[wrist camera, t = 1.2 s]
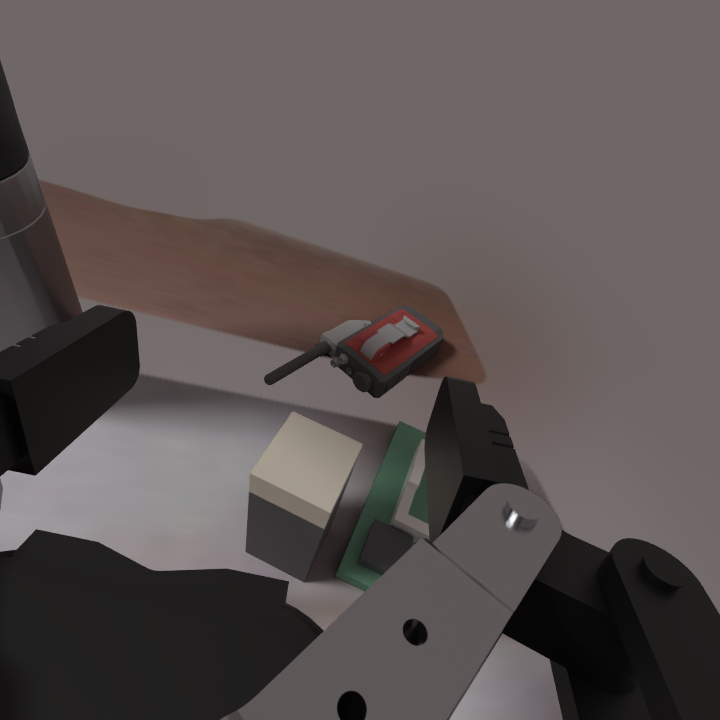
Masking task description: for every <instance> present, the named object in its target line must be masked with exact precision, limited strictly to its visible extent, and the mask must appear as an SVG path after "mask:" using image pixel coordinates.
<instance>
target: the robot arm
mask: <svg viewBox="0 0 720 720" xmlns="http://www.w3.org/2000/svg"><path fill="white" fill-rule="evenodd" d="M139 368H140V363H139V351H138V339H137V327H136V320H135V317H134V315H133V313H132V312H130V311H126V310H121V309H116V308H112V307H107V306H102V305H97V306H95V307H93V308H91V309H89V310H87V311H85V312H82V309H81V306H80V303H79V300H78V297H77V294H76V291H75V288H74V285H73V282H72V279H71V276H70V273H69V270H68V267H67V264H66V261H65V258H64V255H63V252H62V249H61V246H60V243H59V240H58V237H57V234H56V231H55V228H54V225H53V222H52V219H51V216H50V213H49V209H48V206H47V203H46V200H45V198H44V195H43V192H42V189H41V186H40V183H39V180H38V177H37V174H36V171H35V168H34V165H33V162H32V159H31V156H30V154H29V150H28V147H27V144H26V141H25V138H24V136H23V133H22V130H21V126H20V123H19V121H18V117H17V114H16V110H15V107H14V104H13V100H12V97H11V93H10V90H9V86H8V83H7V80H6V77H5V74H4V71H3V68H2V64H1V62H0V476H1V475H3V474H4V473H5V472H6V471H7V470H11V471H15V472H20V473H25V474H30V475H37V474H38V473H39V472H40V471H41V470H42V469H43V468H44V467H45V466H46V465H48V464H49V463H50V462H51V461H52V460H53V459H54V458H55V457H56V456H57V455H59V454H60V453H61V452H62V451H63V450H64V449H65V448H66V447H67V446H68V445H70V444H71V443H72V442H73V441H74V440H75V439H76V438H77V437H78V436H79V435H81V434H82V433H83V432H84V431H85V430H86V429H87V428H88V427H89V426H90V425H92V424H93V423H94V422H95V421H96V420H97V419H98V418H99V417H100V416H102V415H103V414H104V413H105V412H106V411H107V410H108V409H109V408H110V407H111V406H113V405H114V404H115V403H116V402H117V401H118V400H119V399H120V398H121V397H122V396H124V395H125V394H126V393H127V392H128V391H129V390H130V389H131V388H132V387H133V386H134V384H135V382H136V380H137V378H138V375H139ZM424 453H425V470H426V488H427V505H428V523H429V540H430V541H429V540H428V539H427V538H424V539H421V540H420V541H418V542H417V543H416V544H415V545H414V546H412V547H411V548H410V549H409V550H408V551H407V552H406V553H405V554H404V555H403V556H402V557H401V558H400V559H399V560H398V561H397V562H396V563H395V564H394V565H393V566H391V567H390V568H389V569H388V570H387V571H386V572H385V573H384V574H383V575H382V576H381V577H380V578H379V579H378V580H377V581H376V582H375V583H374V584H373V585H372V586H371V587H370V588H368V589H367V590H366V591H365V592H364V593H363V594H362V595H361V596H360V597H359V598H358V599H357V600H356V601H355V602H354V603H353V604H352V605H351V606H350V607H349V608H348V609H346V610H345V611H344V612H343V613H342V614H341V615H340V616H339V617H338V618H337V619H336V620H335V621H334V622H333V623H332V624H331V625H330V626H329V627H328V628H327V629H326V630H325V631H323V630H322V629H321V628H320V627H319V626H318V625H317V624H316V623H315V622H314V621H313V620H312V619H311V618H309V617H308V616H307V615H305V614H304V613H302V612H301V611H300V610H298V609H297V608H295V607H293V606H291V605H289V604H287V603H286V597H287V590H288V584H289V581H284V580H279V579H274V578H270V577H265V576H260V575H255V574H250V573H245V572H240V571H236V570H231V569H204V570H177V571H154V570H150V569H148V568H146V567H144V566H142V565H140V564H138V563H136V562H135V561H133V560H131V559H129V558H127V557H125V556H123V555H121V554H119V553H118V552H116V551H114V550H112V549H110V548H108V547H106V546H104V545H103V544H101V543H99V542H95V541H90V540H85V539H80V538H76V537H71V536H66V535H61V534H56V533H51V532H46V531H42V530H37V529H36V530H35V531H34V532H33V533H32V534H31V535H30V536H29V537H28V538H27V540H26V541H25V542H24V543H23V544H22V545H21V546H20V547H19V548H18V549H17V550H10V551H3V552H0V720H449V719H450V718H451V716H452V714H453V713H454V711H455V709H456V708H457V706H458V705H459V703H460V701H461V700H462V698H463V696H464V695H465V693H466V692H467V690H468V688H469V687H470V685H471V683H472V682H473V680H474V679H475V677H476V675H477V674H478V672H479V671H480V669H481V667H482V666H483V664H484V662H485V661H486V659H487V658H488V656H489V654H490V653H491V651H492V650H493V648H494V646H495V645H496V643H497V641H498V640H499V638H500V637H501V635H502V633H503V634H505V635H507V636H508V637H510V638H512V639H514V640H516V641H518V642H519V643H521V644H523V645H525V646H527V647H528V648H530V649H532V650H534V651H536V652H538V653H539V654H541V655H543V656H545V657H547V658H548V659H550V663H551V668H552V672H553V677H554V681H555V686H556V690H557V695H558V699H559V704H560V708H561V713H562V717H563V720H720V615H719V613H718V611H717V610H716V608H715V606H714V605H713V603H712V601H711V600H710V598H709V596H708V595H707V593H706V592H705V590H704V588H703V586H702V585H701V583H700V582H699V581H698V580H697V578H696V577H695V576H694V574H693V573H692V572H691V571H690V570H689V569H688V568H687V567H686V566H685V565H683V564H682V563H681V562H680V561H679V560H678V559H676V558H675V557H674V556H672V555H671V554H669V553H668V552H666V551H665V550H663V549H661V548H659V547H657V546H655V545H653V544H650V543H649V542H646V541H642V540H638V539H631V538H627V539H622V540H620V541H618V542H617V543H616V544H615V545H614V546H613V548H612V549H611V551H610V552H607V551H604V550H602V549H600V548H598V547H595V546H593V545H591V544H589V543H587V542H585V541H582V540H580V539H578V538H576V537H574V536H571V535H570V534H568V533H566V532H564V531H563V530H562V528H561V523H560V521H559V518H558V516H557V515H556V513H555V512H554V510H553V509H552V508H551V507H550V506H549V505H548V503H546V502H545V501H544V500H543V499H542V498H540V497H539V496H538V495H536V494H535V493H533V492H531V491H529V489H528V486H527V483H526V480H525V477H524V475H523V472H522V469H521V466H520V463H519V460H518V457H517V454H516V452H515V450H514V449H513V443H512V440H511V437H509V431H508V429H507V426H506V423H505V420H504V419H503V418H502V416H501V415H500V414H499V413H498V412H497V411H496V410H495V409H494V407H493V406H491V405H486V404H482V403H481V402H480V398H479V395H478V391H477V388H476V384H475V383H474V382H470V381H465V380H460V379H456V378H451V377H444V379H443V381H442V383H441V386H440V389H439V392H438V395H437V398H436V401H435V405H434V408H433V411H432V414H431V417H430V420H429V424H428V427H427V431H426V436H425V444H424ZM2 492H3V486H2V483H1V480H0V509H1V500H2Z"/></svg>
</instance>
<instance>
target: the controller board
mask: <svg viewBox="0 0 720 720" xmlns="http://www.w3.org/2000/svg"><path fill="white" fill-rule="evenodd" d="M425 436H426V433H425V432H422V431H420V430H418V429H416V428H414V427H411V426H409V425H407V424H404V423H403V422H399V424H398V426H397V428H396V430H395V433H394V435H393V438H392V440H391V442H390V445H389V447H388V450H387V452H386V454H385V457H384V459H383V462H382V464H381V466H380V469H379V471H378V474H377V476H376V478H375V481H374V483H373V486H372V488H371V490H370V493H369V495H368V498H367V500H366V503H365V505H364V507H363V510H362V512H361V515H360V517H359V519H358V522H357V524H356V527H355V529H354V531H353V534H352V536H351V539H350V541H349V543H348V546H347V548H346V551H345V553H344V555H343V558H342V560H341V563H340V565H339V568H338V570H337V572H336V575H335V576H336V577H338V578H339V579H341V580H343V581H345V582H347V583H349V584H351V585H353V586H355V587H357V588H359V589H361V590H363V591H366V590H367V589H368V588H370V587H371V586H372V585H373V584H374V583H375V582H376V581H377V580H378V579H379V578H380V577H381V576H382V575H383V574H384V573H385V572H386V571H387V570H388V569H389V568H390V567H391V566H393V565H394V564H395V563H396V562H397V561H398V560H399V559H400V558H401V557H402V556H403V555H404V554H405V553H406V552H407V551H408V550H409V549H410V548H411V547H412V546H414V545H415V544H416V543H417V542H418V541H420V540H421V539H424V538H427V539H428V540H429V523H428V505H427V488H426V470H425V453H424V444H425ZM429 541H430V540H429Z"/></svg>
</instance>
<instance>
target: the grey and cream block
mask: <svg viewBox="0 0 720 720" xmlns="http://www.w3.org/2000/svg"><path fill="white" fill-rule="evenodd" d="M362 446H363V444H362V443H360V442H358V441H355V440H353V439H351V438H349V437H347V436H345V435H343V434H340V433H338V432H336V431H334V430H332V429H330V428H328V427H326V426H323V425H321V424H319V423H317V422H315V421H313V420H311V419H308V418H306V417H304V416H302V415H300V414H298V413H296V412H294V411H292V413H291V414H290V416H289V417H288V419H287V420H286V421H285V423H284V424H283V426H282V427H281V429H280V430H279V432H278V433H277V435H276V436H275V438H274V439H273V441H272V442H271V443H270V445H269V446H268V448H267V449H266V451H265V452H264V454H263V455H262V457H261V458H260V460H259V461H258V463H257V464H256V465H255V467H254V468H253V470H252V471H251V473H250V485H249V503H248V520H247V537H246V552H247V553H249V554H251V555H253V556H254V557H256V558H258V559H260V560H262V561H264V562H266V563H268V564H270V565H272V566H274V567H276V568H278V569H279V570H281V571H283V572H285V573H287V574H289V575H291V576H293V577H295V578H297V579H299V580H301V581H302V582H304V581H305V579H306V577H307V575H308V573H309V570H310V568H311V566H312V564H313V562H314V560H315V558H316V555H317V553H318V551H319V549H320V547H321V545H322V542H323V540H324V538H325V536H326V534H327V532H328V529H329V527H330V525H331V523H332V520H333V518H334V515H335V513H336V510H337V508H338V506H339V503H340V501H341V498H342V496H343V493H344V491H345V488H346V486H347V483H348V481H349V478H350V476H351V473H352V471H353V468H354V466H355V463H356V461H357V458H358V456H359V453H360V451H361V448H362Z"/></svg>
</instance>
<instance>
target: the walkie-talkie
mask: <svg viewBox="0 0 720 720" xmlns="http://www.w3.org/2000/svg"><path fill="white" fill-rule="evenodd" d="M443 339H444V338H443V331H442V330H441V328H440V327H438V326H437V325H436V324H434V323H433V322H431V321H430V320H429V319H427V318H426V317H424V316H423V315H422V314H420V313H419V312H418V311H416V310H415V309H413V308H412V307H410V306H400V307H398V308H396V309H395V310H393V311H391V312H390V313H387V315H384V316H383V317H381V318H380V319H378V320H375V322H370V321H363V320H349V321H347V322H345V323H343V324H341V325H339V326H337V327H336V328H334V329H332V330H330V331H326V332H324V333H322V334H321V339H320V343H319V344H317V345H315V347H314V348H313V349H311V350H309V351H308V352H306V353H304V354H302V355H301V356H299V357H297V358H295V359H293V360H292V361H290V362H289V363H286V364H285V365H283V366H281V367H279V368H278V369H276V370H274V371H272V372H271V373H269V374H267V375H266V376H265V378H264V380H265V383H267V384H268V385H272V384H274V383H275V382H277V381H279V380H280V379H282V378H284V377H286V376H287V375H289V374H291V373H292V372H294V371H295V370H297V369H299V368H301V367H302V366H304V365H306V364H307V363H309V362H311V361H312V360H314V359H316V358H317V357H319V356H321V357H322V356H324V355H325V354H327V353H328V354H329V355H330V356H331V357H332V358H333V360H331V365H332V366H333V367H339V368H340V369H341V370H342V371H343V372H345V373H346V374H347V375H348V376H349V377H350V378H352V379H353V383H354V384H355V387H356V388H357V389H358V390H360V391H362V392H368V393H369V394H370V395H371V396H373V397H374V398H380V397H381V396H382V395H383V394H385V393H386V392H388V391H389V390H390V389H391V388H393V387H394V386H395V385H397V384H398V383H399V382H400V381H402V380H403V379H404V378H405V377H406V376H408V375H409V373H412V371H414V370H415V368H418V366H421V364H423V363H424V362H426V361H427V360H428V359H429V358H431V357H432V355H433V356H434V355H435V353H437V351H438V349H439V347H440V345H441V343H442V341H443Z"/></svg>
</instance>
